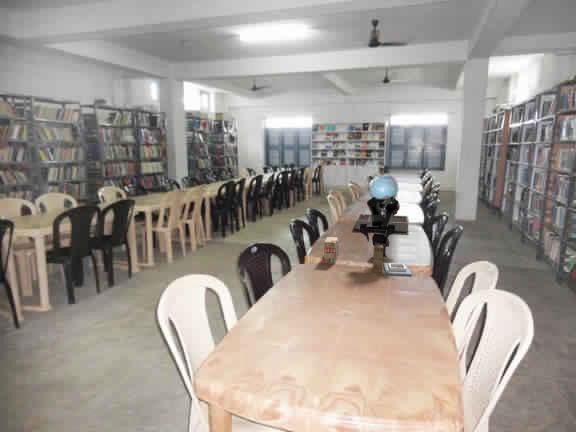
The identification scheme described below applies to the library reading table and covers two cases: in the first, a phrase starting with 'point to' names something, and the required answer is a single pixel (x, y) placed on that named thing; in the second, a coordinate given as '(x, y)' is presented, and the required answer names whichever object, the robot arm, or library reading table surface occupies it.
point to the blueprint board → (397, 269)
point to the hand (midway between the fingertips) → (377, 241)
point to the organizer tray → (398, 221)
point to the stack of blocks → (331, 250)
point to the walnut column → (378, 258)
